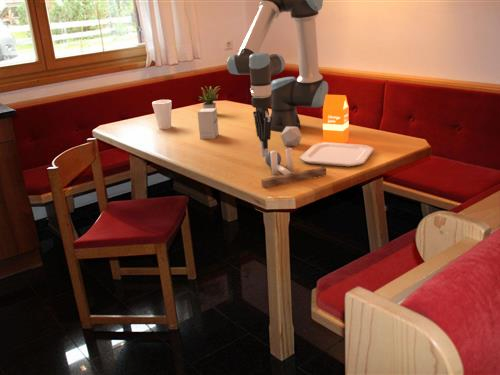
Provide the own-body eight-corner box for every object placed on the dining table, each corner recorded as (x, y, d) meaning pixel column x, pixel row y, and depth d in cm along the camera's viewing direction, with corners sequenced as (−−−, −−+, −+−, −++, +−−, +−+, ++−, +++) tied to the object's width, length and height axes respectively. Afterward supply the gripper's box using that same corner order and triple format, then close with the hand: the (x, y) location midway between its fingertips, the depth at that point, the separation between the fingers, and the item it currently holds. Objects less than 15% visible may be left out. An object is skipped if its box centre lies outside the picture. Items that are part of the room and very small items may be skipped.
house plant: (230, 112, 286) (227, 82, 280) (218, 118, 274) (216, 87, 268) (207, 111, 292) (204, 81, 286) (194, 117, 280) (191, 86, 274)
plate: (361, 170, 188) (361, 165, 188) (296, 165, 199) (296, 159, 198) (376, 150, 209) (376, 145, 208) (316, 146, 219) (316, 141, 219)
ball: (285, 157, 193) (282, 169, 197) (279, 147, 197) (275, 159, 201) (270, 159, 191) (267, 171, 195) (264, 148, 195) (261, 160, 199)
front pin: (281, 163, 193) (291, 170, 185) (282, 169, 193) (292, 176, 186) (275, 165, 192) (285, 172, 184) (276, 171, 193) (286, 178, 185)
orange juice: (329, 138, 228) (328, 92, 221) (348, 139, 224) (349, 93, 217) (322, 143, 222) (322, 96, 214) (343, 145, 218) (343, 97, 210)
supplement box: (215, 138, 238) (212, 111, 234) (199, 139, 240) (196, 111, 235) (219, 134, 245) (216, 107, 240) (204, 134, 246) (201, 108, 242)
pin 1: (276, 172, 191) (275, 150, 188) (279, 174, 189) (278, 151, 186) (270, 173, 191) (269, 151, 187) (273, 175, 188) (272, 152, 185)
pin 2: (291, 169, 193) (290, 147, 190) (294, 171, 191) (293, 149, 188) (285, 170, 193) (284, 148, 189) (288, 172, 190) (287, 150, 187)
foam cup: (152, 129, 262) (148, 103, 257) (161, 124, 270) (158, 99, 265) (168, 130, 258) (165, 104, 254) (177, 125, 266) (174, 99, 261)
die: (290, 150, 217) (303, 131, 215) (274, 139, 219) (287, 120, 217) (295, 152, 224) (308, 133, 222) (279, 140, 227) (292, 122, 225)
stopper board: (323, 173, 187) (323, 167, 186) (326, 175, 185) (326, 168, 184) (261, 186, 179) (261, 179, 178) (264, 188, 177) (263, 181, 176)
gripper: (245, 94, 200) (249, 153, 209) (258, 100, 189) (262, 162, 197) (263, 91, 203) (266, 150, 211) (277, 97, 191) (280, 158, 200)
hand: (264, 155), depth 204 cm, fingers closed
